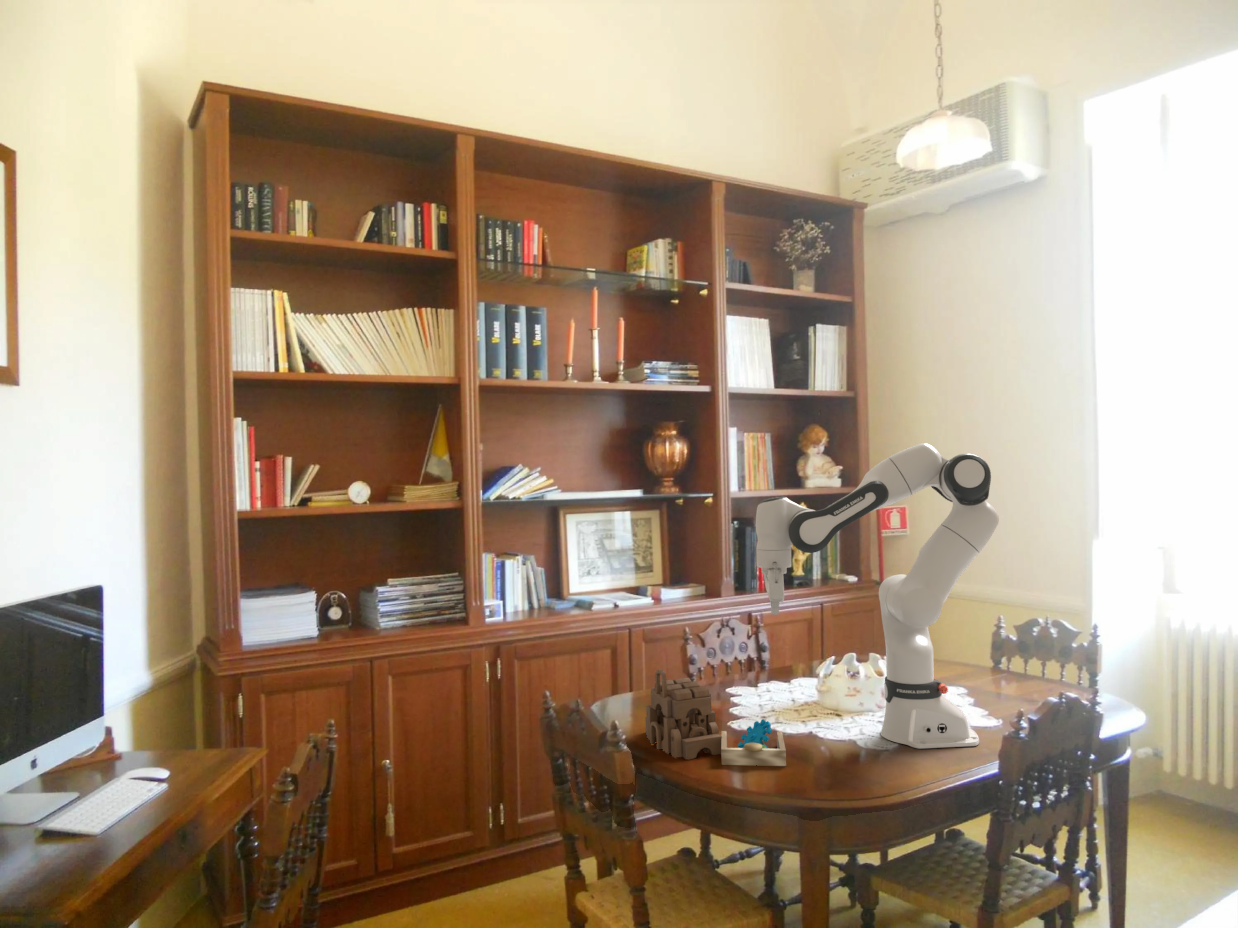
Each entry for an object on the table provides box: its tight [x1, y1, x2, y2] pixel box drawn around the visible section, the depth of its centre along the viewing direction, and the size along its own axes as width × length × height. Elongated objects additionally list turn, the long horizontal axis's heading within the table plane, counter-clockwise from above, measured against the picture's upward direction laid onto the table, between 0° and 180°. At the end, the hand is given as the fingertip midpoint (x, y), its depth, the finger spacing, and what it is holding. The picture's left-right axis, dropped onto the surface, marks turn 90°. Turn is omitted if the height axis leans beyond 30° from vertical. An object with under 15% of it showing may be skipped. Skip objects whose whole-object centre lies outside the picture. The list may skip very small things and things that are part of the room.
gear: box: [737, 719, 773, 748], centre depth 204 cm, size 11×6×10 cm
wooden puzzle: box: [645, 669, 722, 760], centre depth 213 cm, size 22×15×19 cm, turn 23°
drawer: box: [720, 730, 787, 767], centre depth 202 cm, size 14×15×4 cm
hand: (775, 613), depth 223 cm, fingers closed
